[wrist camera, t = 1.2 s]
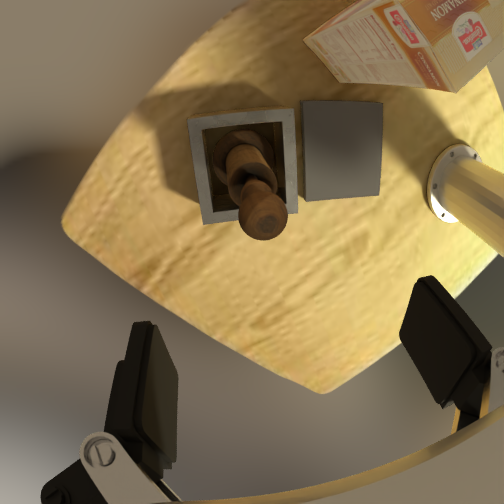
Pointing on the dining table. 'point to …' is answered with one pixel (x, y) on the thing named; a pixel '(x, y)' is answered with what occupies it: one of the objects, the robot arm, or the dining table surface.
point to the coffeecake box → (411, 42)
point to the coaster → (341, 149)
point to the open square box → (285, 149)
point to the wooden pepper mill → (251, 182)
